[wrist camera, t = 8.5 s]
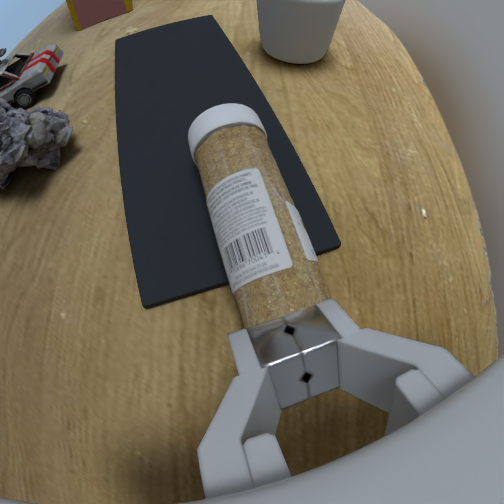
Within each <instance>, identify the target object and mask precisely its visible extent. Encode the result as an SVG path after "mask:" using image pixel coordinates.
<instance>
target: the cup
mask: <svg viewBox="0 0 504 504" xmlns="http://www.w3.org/2000/svg"><path fill="white" fill-rule="evenodd" d="M344 3H345V0H257V10H258V20H259V30H260V39H261V43H262V46H263V48H264V50H265V51H266V52H267V53H268V54H269V55H270V56H272V57H274V58H276V59H278V60H281V61H284V62H288V63H295V64H307V63H312V62H315V61H318V60H320V59H321V58H322V57H323V56H324V55H325V54H326V52H327V50H328V48H329V46H330V43H331V40H332V37H333V34H334V31H335V28H336V26H337V23H338V20H339V17H340V14H341V11H342V8H343V5H344Z"/></svg>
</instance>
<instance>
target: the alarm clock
mask: <svg viewBox="0 0 504 504" xmlns="http://www.w3.org/2000/svg"><path fill="white" fill-rule="evenodd" d="M66 2H67V5H68V8H69V10H70V13H71V16H72V19H73V21H74V24H75V27H76V29H77V31H79V30H82V29H84V28H87V27H89V26H91V25H94V24H96V23H99V22H102V21H104V20H107V19H110V18H112V17H115V16H118V15H121V14H124V13H127V12H130V11H131V10H133V8H132V0H66Z"/></svg>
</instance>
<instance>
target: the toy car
mask: <svg viewBox="0 0 504 504" xmlns="http://www.w3.org/2000/svg"><path fill="white" fill-rule="evenodd" d="M5 53H6V48H5V49H1V50H0V57H1V56H3V55H4V54H5ZM63 54H64V53H63V51H62V50H61V49H60V48H59V47H58V46H57V45H54V44H50V45H48V46H46V47H44V48H43V49H41V50H39V51H38V52H36V53H31V54H24V53H14V54H13V55H11V56H9V57H7V58H6V59H4V60H2V61H1V60H0V98H2V99H5V100H6V101H7V103H8V104H11V103H12V102H14V101H15V100H16V103H17V104H18V106H20V107H23V108H27V107H30V106H31V105H32V104H33V103H34V101H35V98H36V91H35V90H37V89H39V88H41V87H43V86H45V85H47V84H49V83H50V81H51V79H52V77H53V74H54V72H55V70H56V68H57V66H58V64H59V62H60V60H61V58H62V56H63ZM15 57H17V58H21V59H19V60H18V61H16V62H14V63H13V64H11V65H9V64H10V62H11V61H12V59H13V58H15ZM8 65H9V66H8Z"/></svg>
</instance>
